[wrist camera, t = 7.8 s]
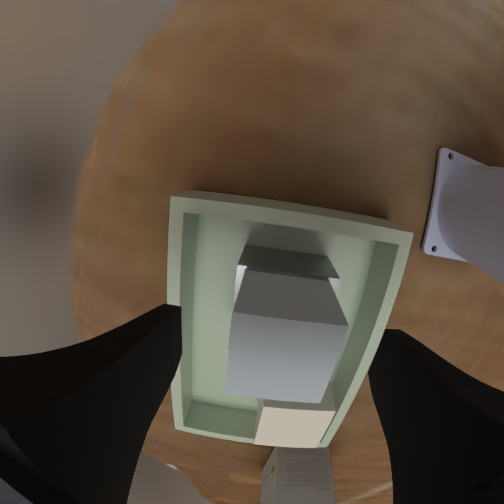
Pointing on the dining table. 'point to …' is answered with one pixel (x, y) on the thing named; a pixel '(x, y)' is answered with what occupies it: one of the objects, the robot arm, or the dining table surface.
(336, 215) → the crate
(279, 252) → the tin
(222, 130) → the dining table surface
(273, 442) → the beige cube
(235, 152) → the dining table surface
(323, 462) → the small box
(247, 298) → the grey cube
